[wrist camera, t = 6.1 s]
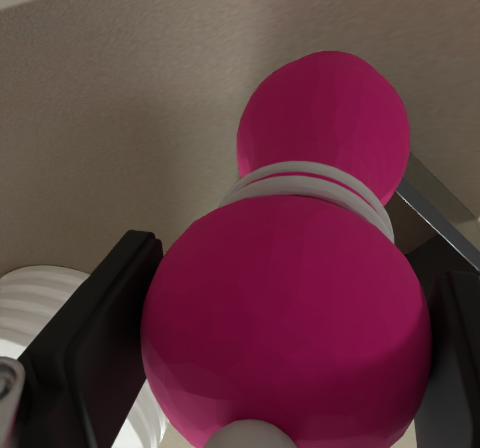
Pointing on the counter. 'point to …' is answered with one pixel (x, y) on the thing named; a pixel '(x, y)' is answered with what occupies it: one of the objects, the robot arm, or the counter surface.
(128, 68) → the counter surface
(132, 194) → the counter surface
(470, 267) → the open box
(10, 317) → the plate stack
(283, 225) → the pepper mill
